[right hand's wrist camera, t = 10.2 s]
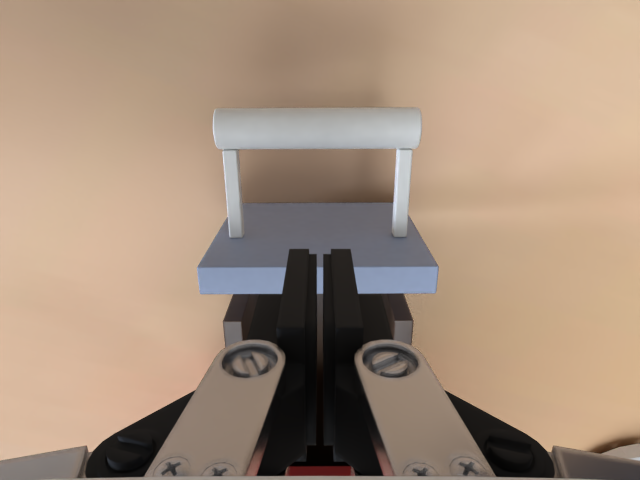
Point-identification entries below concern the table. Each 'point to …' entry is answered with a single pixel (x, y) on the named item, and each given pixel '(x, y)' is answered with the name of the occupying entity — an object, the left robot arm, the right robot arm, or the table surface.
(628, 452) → the mechanical component
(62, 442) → the table surface
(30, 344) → the table surface
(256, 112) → the drawer
